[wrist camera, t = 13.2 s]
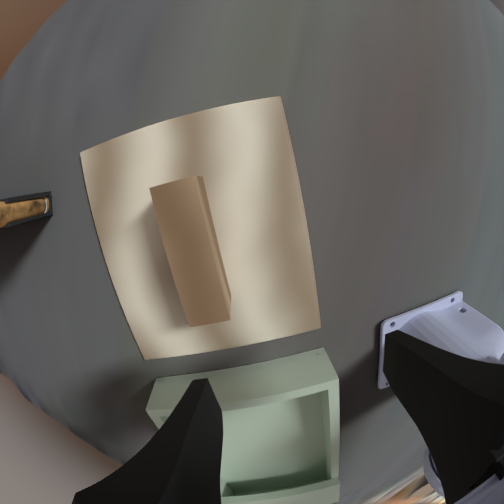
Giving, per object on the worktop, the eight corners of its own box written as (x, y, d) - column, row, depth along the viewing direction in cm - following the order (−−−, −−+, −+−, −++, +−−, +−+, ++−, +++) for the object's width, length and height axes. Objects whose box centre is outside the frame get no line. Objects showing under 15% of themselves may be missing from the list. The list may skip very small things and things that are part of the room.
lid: (278, 100, 16) (290, 77, 12) (317, 321, 20) (335, 354, 16) (86, 153, 16) (51, 149, 12) (147, 352, 21) (132, 387, 16)
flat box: (323, 347, 20) (343, 387, 16) (330, 474, 27) (338, 501, 22) (156, 377, 20) (142, 419, 16) (230, 491, 27) (230, 519, 22)
